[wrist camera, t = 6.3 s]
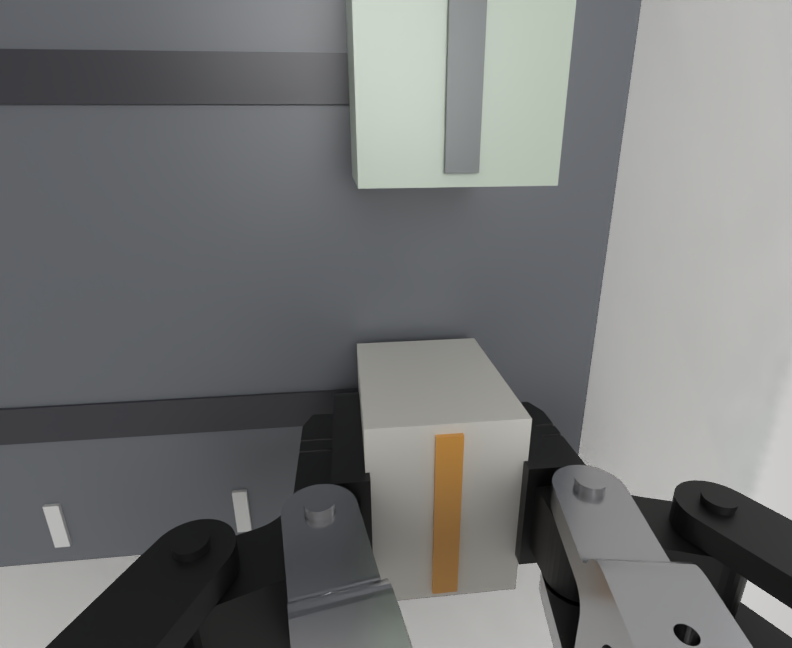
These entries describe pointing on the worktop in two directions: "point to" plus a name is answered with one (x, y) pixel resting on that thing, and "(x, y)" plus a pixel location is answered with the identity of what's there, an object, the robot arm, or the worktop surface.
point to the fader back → (441, 466)
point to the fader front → (457, 91)
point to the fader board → (249, 258)
